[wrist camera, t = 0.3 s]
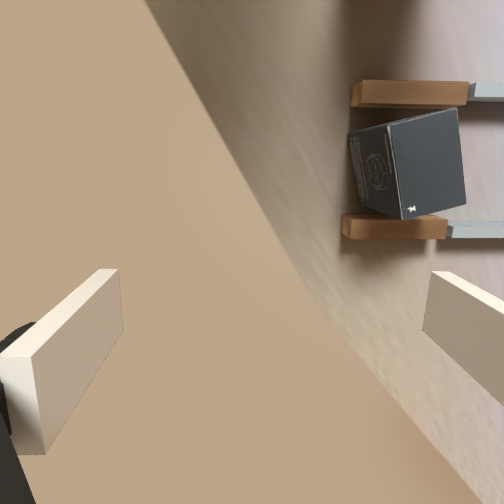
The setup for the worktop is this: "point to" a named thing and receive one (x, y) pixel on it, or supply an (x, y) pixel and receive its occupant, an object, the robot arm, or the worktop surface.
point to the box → (409, 165)
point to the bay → (480, 229)
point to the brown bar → (411, 98)
